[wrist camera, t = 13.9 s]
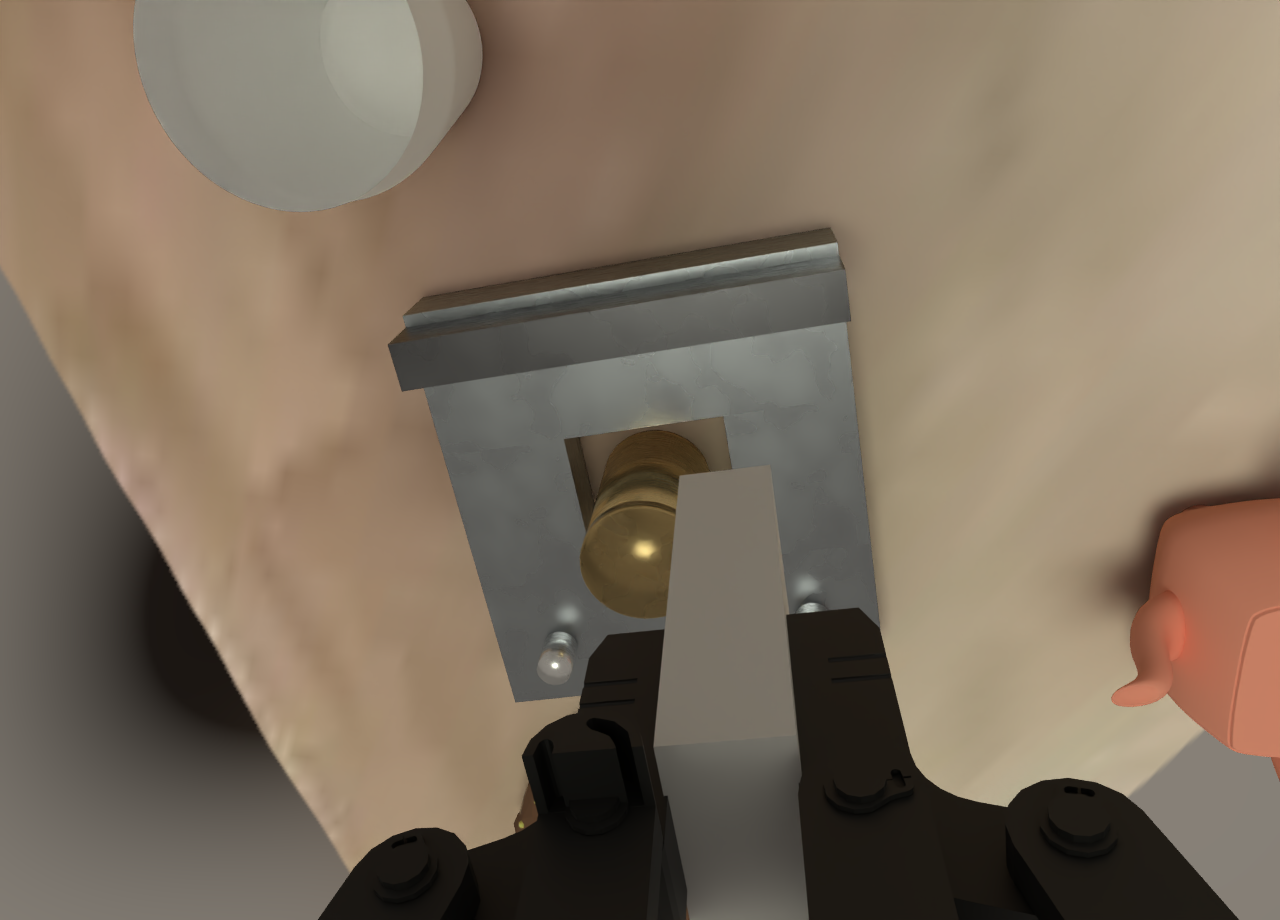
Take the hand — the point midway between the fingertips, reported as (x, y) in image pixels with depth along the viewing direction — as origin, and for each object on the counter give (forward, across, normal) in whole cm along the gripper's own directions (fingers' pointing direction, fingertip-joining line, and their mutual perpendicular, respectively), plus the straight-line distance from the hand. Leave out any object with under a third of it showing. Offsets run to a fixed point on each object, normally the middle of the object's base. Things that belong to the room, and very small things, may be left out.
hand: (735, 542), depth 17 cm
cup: (+28, -12, +9) cm, 32 cm away
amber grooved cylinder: (+27, -5, -12) cm, 30 cm away
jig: (+27, -5, -11) cm, 30 cm away
